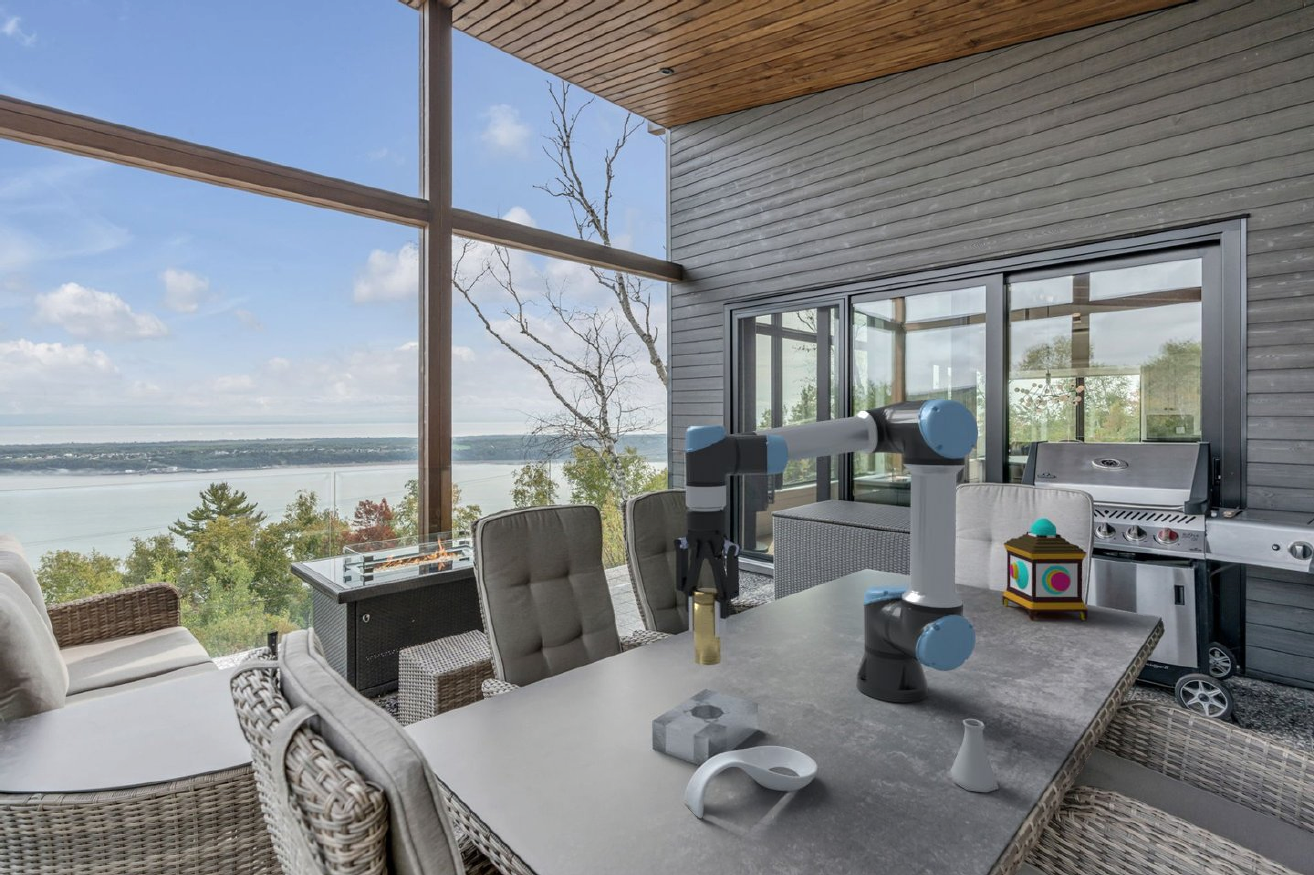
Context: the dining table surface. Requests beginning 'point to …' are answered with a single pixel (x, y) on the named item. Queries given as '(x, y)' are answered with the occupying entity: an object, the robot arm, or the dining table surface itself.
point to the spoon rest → (753, 771)
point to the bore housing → (704, 726)
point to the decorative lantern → (1044, 572)
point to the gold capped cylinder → (705, 627)
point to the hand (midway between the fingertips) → (707, 632)
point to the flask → (973, 761)
